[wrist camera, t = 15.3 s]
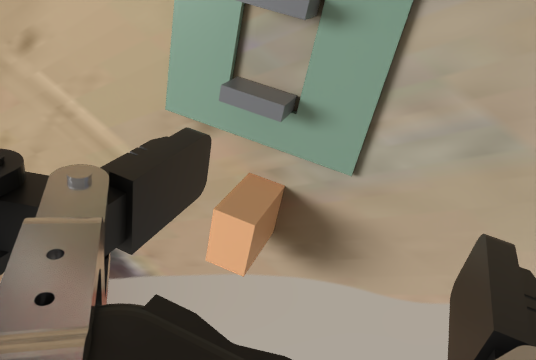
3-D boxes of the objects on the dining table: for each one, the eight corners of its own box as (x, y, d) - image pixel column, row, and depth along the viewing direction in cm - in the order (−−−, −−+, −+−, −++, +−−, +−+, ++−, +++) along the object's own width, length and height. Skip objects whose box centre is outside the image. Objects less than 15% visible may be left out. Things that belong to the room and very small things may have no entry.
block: (285, 185, 43) (255, 225, 36) (273, 232, 46) (243, 276, 39) (249, 172, 44) (213, 209, 37) (240, 219, 47) (205, 260, 40)
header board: (426, -38, 31) (424, -39, 28) (352, 173, 40) (345, 189, 37) (186, -95, 35) (162, -100, 32) (168, 107, 44) (148, 117, 41)
